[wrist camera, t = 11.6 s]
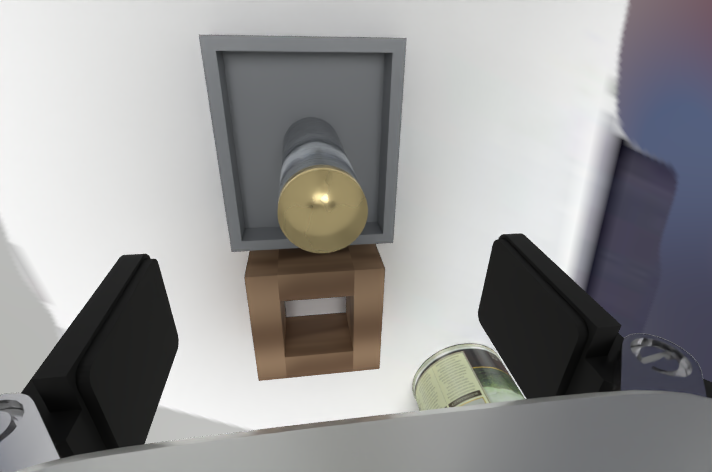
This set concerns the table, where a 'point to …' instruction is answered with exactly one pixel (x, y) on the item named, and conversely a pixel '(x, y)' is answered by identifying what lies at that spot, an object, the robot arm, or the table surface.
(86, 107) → the table surface
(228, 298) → the table surface
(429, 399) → the coffee can
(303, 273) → the block
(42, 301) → the table surface
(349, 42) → the tray
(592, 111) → the table surface
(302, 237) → the steel pin
